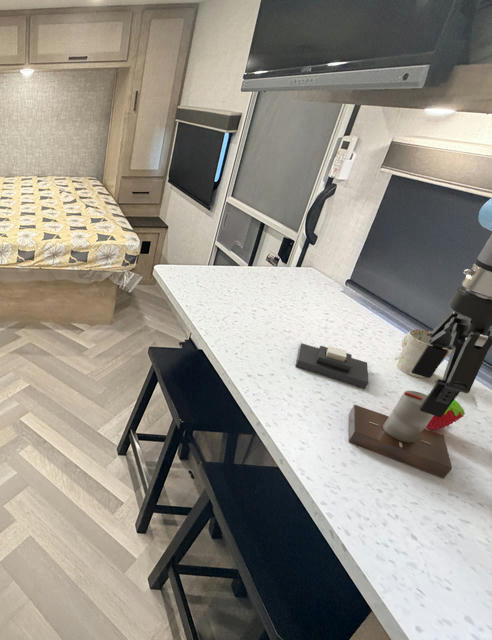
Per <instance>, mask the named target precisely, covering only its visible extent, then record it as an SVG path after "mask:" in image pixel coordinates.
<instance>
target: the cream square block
mask: <svg viewBox="0 0 492 640" xmlns="http://www.w3.org/2000/svg"><path fill="white" fill-rule="evenodd" d="M327 348H328V349H327V351H326V357H328V358H332V359H335V360H338V361H342V362H344V361H345V359H346V353H347V350H345V349H342V348H338V347H335V346H331V345H328V347H327Z"/></svg>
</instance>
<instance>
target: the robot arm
mask: <svg viewBox="0 0 492 640" xmlns="http://www.w3.org/2000/svg"><path fill="white" fill-rule="evenodd" d="M477 219H478V223H479V224H480V226H481V227H482V228H484V229H486V230H488V231H491V232H492V197H491V198H490V199H488V200H487V201H486V202H485V203H484V204H483V205H482V207H480V209H479V212H478V216H477ZM463 274H464V275H465V277H464V279H463V280H462V282H461V285H462V286H460V287H458V288H456V290H455V292H454V293H453V295H452V297H451V298H450V299H449V302H448V307H449V309H450V310H451V311H450V312H449V313H448V314H447V315H446V316H445V317H444V318H443V319H442V320H440V322H439V323H438V324H437V326H435V327H434V329H433V330H431V331H430V332H431V333H430V334H429V337H430V338H431V339H430V340H429V344H431V345H428V346H427V347H426V349H425V350H424V352H423V354H422V355H421V357H420V358H419V360H418V361H417V363H416V365H415V366H414V368H413V369H412V371H411V372H412V373H413V374H417V375H420V376H424V377H426V378H428V379H431V378H432V376H433V375H434V374H435V372H436V370H437V369H438V368H439V366H440V365H441V364H442V363H443V362H442V360H443V359H444V357H445V356H446V354H447V353H448V350H445V349H443V348H446V349H450V350H452V352H451V353H450V354H449V359H448V362H447V364H446V368H445V370H444V373H443V376H442V378H441V379H440V378H437V379H435V381H434V382H435V384H434V386H433V388H432V389H431V391H430V392H429V393H428V394H427V395H428V396H427V398H426V399H425V401H424V402H423V404H422V405H421V407H420V408H419V409H420V411H423V412H426V413H429V414H432V415H435V416H438V417H442V416H443V414H444V413H445V411H446V410H447V409H448V407H449V406H450V405H451V403H452V402H453V401H454V400H455V399H456V398H457V397H458V395H459V394H460V393H465V394H469V393H470V392H471V389H472V387H473V385H474V382H475V380H476V378H477V376H478V374H479V372H480V369H481V367H482V365H483V363H484V360H485V358H486V356H487V354H488V352H489V350H490V348H491V347H492V335H491V333H492V332H491V330H490V329H491V327H492V234H490V236H489V238H488V240H487V241H486V243H485V244H484V246H483V248H482V249H481V251H480V252H479V255H478V256H477V258H476V259H475V261H474V263H473V264H472V267H471V268H465V269H464V270H463ZM441 362H442V363H441ZM440 363H441V364H440Z"/></svg>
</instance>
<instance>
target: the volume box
mask: <svg viewBox="0 0 492 640" xmlns="http://www.w3.org/2000/svg"><path fill="white" fill-rule="evenodd" d="M388 417H389V415H386V414H383V413H380V412H377V411H375V410H372V409H369V408H366V407H364V406H360V405H357V404H353V405H352V408H351V409H350V411H349V413H348V443H351V444H353V445H355V446H358V447H361V448H364V449H366V450H369V451H372V452H374V453H377V454H379V455H382V456H384V457H387V458H389V459H391V460H394V461H397V462H400V463H403V464H405V465H407V466H410V467H413V468H414V469H418V470H420V471H423V472H426V473H429V474H430V475H434V476H436V477H439V478H441V479H445V478H446V477H447V475H448V474H449V473H450V472H451V471H452V469H453V466H452V462H451V461H452V460H451V458H450V454H449V453H450V452H449V451H448V447H447V443H446V439H445V436H444V434H442V433H438V432H436V431H433V430H431V429H428V428H425V429H424V430H423V431H422V433H421V434H420V436H419V437H418V439H417V440H416V441H415V442H413V443H408V442H403V441H400V440H398V439H395V438H394V437H392V436H390V435H389V434H388V433H386V432H385V431H384V429H383V425H384V423H385V422H386V420H387V419H388Z"/></svg>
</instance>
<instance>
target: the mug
mask: <svg viewBox="0 0 492 640" xmlns="http://www.w3.org/2000/svg"><path fill="white" fill-rule="evenodd" d="M431 332H432V331H430V330H425V329H411V330H409V331H408V332H407V333H406V334H405V335H404V336H403V338H402V340H401V352H400V354H399V358H398V360H397V363H396V367H397V369H398V370H399V371H401V372H402V373H404V374H406V375H408V376H412V377H416V378H418V379H419V378H420V379H426V378H427V377H424V376H420V375H417V374H413V373H412V372H411V371H412V369H413V368H414V366H415V365H416V363H417V361H418V360H419V358H420V357H421V355H422V354H423V352H424V350H425V349H426V347H427V346H428V345H431V344H429V340H430V339H431V338H430V337H429V334H430V333H431ZM443 349H445V350H448V353H447V354H446V356H445V357H444V359H443V360H442V362H441V363H440V365H441V364H442V363H443V362H444V361H445V360H446V359H447V358H448V356H450V355H451V352H452V350H450V349H446V348H443Z"/></svg>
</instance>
